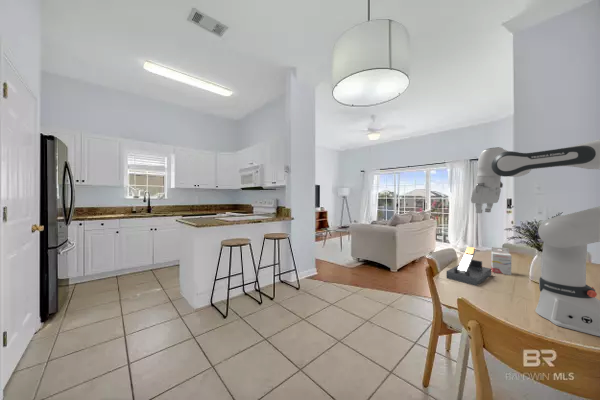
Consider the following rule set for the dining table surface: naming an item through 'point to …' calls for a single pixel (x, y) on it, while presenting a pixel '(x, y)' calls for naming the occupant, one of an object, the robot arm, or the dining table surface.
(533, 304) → the dining table surface
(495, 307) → the dining table surface
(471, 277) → the mounting block
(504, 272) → the ink cartridge box
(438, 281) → the dining table surface
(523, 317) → the dining table surface
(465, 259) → the clamp lever
